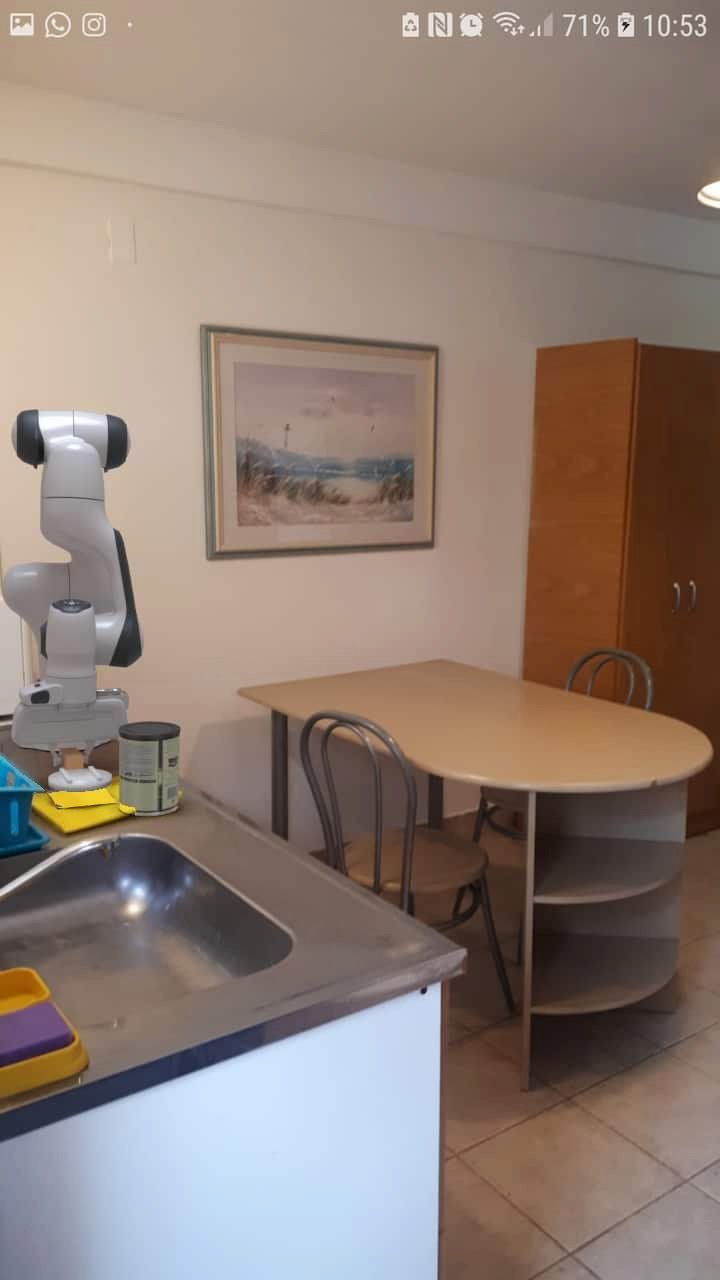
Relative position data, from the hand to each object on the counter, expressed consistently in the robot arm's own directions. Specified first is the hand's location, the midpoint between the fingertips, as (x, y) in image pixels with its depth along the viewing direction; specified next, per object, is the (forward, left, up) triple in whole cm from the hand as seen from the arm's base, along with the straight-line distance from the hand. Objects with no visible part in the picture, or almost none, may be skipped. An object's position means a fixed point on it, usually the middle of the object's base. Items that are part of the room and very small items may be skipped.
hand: (70, 765), depth 173 cm
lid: (+5, 0, -1) cm, 5 cm away
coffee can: (+17, +10, -4) cm, 20 cm away
